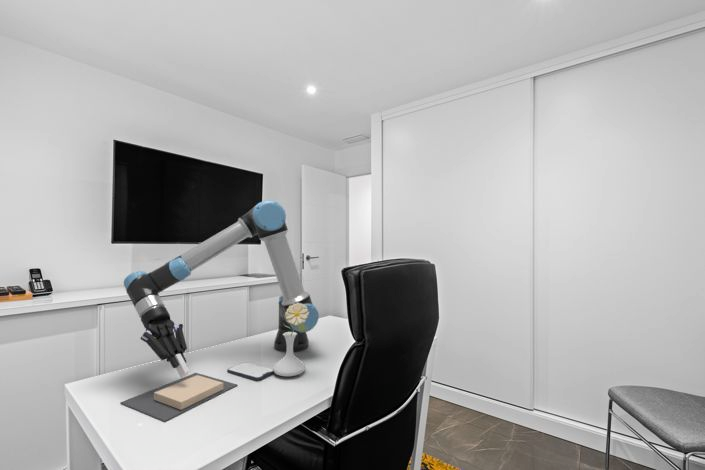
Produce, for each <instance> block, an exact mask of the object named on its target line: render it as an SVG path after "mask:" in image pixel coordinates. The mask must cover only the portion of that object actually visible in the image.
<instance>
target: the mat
mask: <svg viewBox="0 0 705 470" xmlns="http://www.w3.org/2000/svg"><path fill="white" fill-rule="evenodd" d="M196 375H198V376H202V377H205V378H209V379H212V380H216V381H219V382H223V390H221V391H219V392H217V393H215V394H213V395H211V396H209V397H207V398H205V399H203V400H201V401H199V402H197V403H195V404H193V405H191V406H189V407H187V408H185V409H183V410H180V409H177V408H175V407H172V406H169V405H167V404H164V403H161V402H159V401H156V400H154V392H157V391H159V390H162V389H164V388H167V387H169V386H172V385H174V384H177V383H179V382H181V381H184V380H186V379H189V378H191V377H194V376H196ZM236 387H238V384H237V383H233V382H230V381H226V380H223V379H220V378H215V377H213V376H208V375H206V374H201V373H197V372H194V373H192V374H189V375H188V374H187V375H186V376H185V377H182V378H181V377H180V378H179V379H176V380H173V381H170V382H169V383H166V384H164V385H161V386H158V387H155V388H152V389H151V390H148V391H146V392H142V393H140V394H137V395H135V396H134V397H133V396H132V397H131V398H128V399H125V400H123V401H121V402H120V405H123V406H125V407H127V408H130V409H131V410H134V411H137V412H139V413H141V414H144V415H145V416H149V417H151V418H154V419H156V420H158V421H161V422H163V423H166V422H168V421H170V420H173V419H174V418H177V417H179V416H180V415H182V414H184V413H186V412H188V411H190V410H192V409H194V408H196V407H198V406H201V405H202V404H204V403H206V402H209V401H210V400H212V399H214V398H217V397H218V396H220V395H222V394H224V393H226V392H228V391H231V390H233V389H235V388H236Z"/></svg>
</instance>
